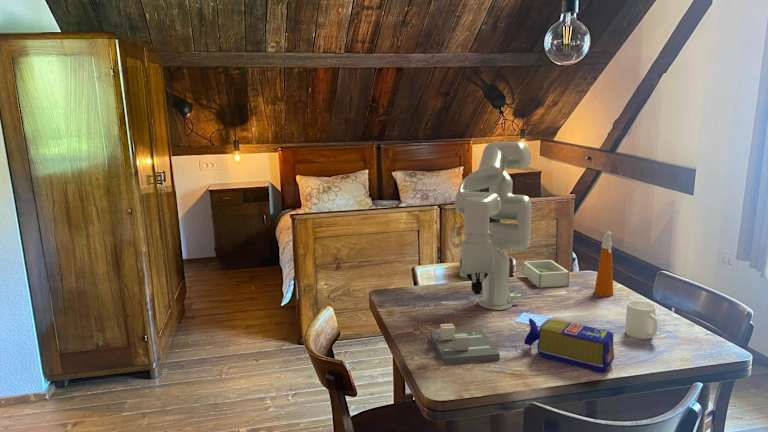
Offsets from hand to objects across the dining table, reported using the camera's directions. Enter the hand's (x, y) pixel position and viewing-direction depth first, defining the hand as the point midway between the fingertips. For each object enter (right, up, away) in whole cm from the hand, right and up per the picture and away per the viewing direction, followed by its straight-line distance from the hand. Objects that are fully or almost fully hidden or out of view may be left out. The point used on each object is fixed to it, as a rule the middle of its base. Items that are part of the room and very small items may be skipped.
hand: (476, 292), depth 169 cm
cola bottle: (+20, -1, +75) cm, 78 cm away
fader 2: (-6, -16, -7) cm, 18 cm away
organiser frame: (+40, -3, +61) cm, 73 cm away
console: (-4, -17, -2) cm, 18 cm away
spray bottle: (+57, -7, +42) cm, 71 cm away
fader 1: (-9, -14, +1) cm, 17 cm away
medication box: (+41, -3, +63) cm, 75 cm away
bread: (+26, -18, -9) cm, 33 cm away
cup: (+54, -15, +4) cm, 56 cm away
